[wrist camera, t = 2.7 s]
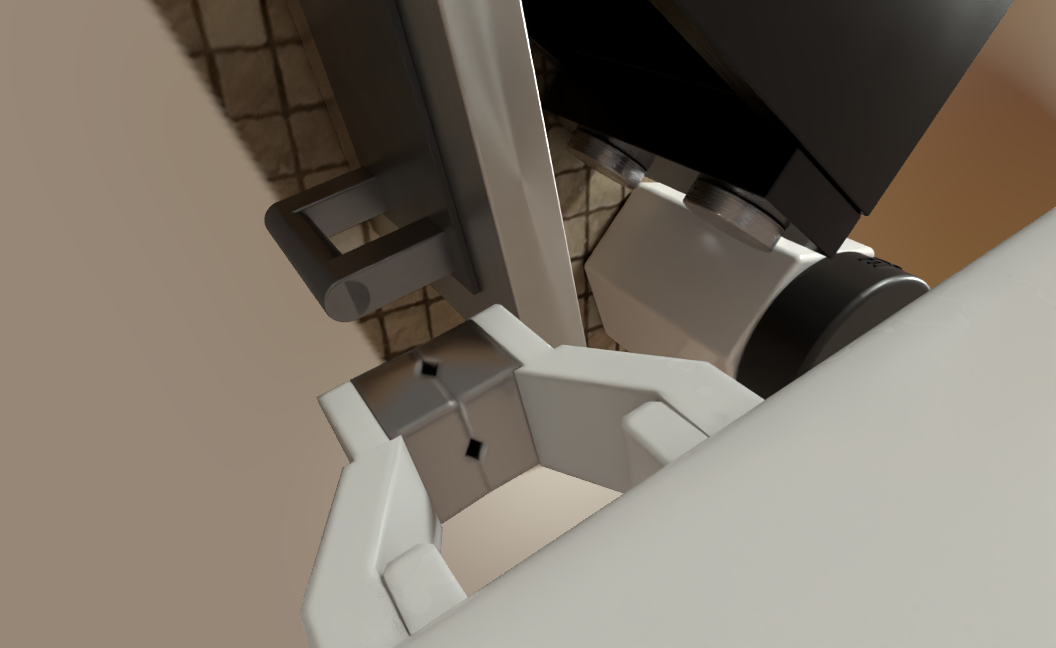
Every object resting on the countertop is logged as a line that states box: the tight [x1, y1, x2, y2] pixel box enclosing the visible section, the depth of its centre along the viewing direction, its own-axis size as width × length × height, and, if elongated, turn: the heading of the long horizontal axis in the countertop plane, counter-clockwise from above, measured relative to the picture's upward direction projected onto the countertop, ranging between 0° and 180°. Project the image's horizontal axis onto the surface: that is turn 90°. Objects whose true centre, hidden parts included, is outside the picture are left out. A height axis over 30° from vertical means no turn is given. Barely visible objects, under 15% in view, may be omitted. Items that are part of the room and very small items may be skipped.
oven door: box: [265, 0, 587, 349], centre depth 18 cm, size 5×11×12 cm, turn 13°
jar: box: [584, 182, 930, 400], centre depth 30 cm, size 9×8×12 cm
